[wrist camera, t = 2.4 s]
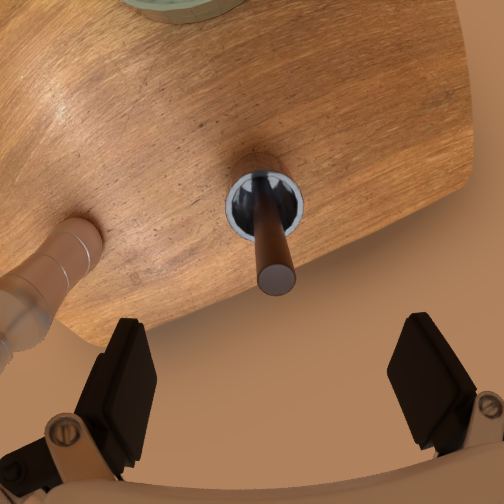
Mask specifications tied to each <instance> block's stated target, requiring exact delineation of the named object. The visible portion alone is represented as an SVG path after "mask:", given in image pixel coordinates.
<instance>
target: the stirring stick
mask: <svg viewBox="0 0 504 504" xmlns="http://www.w3.org/2000/svg"><path fill="white" fill-rule="evenodd" d="M251 190H252V207H253V223H254V239H255V255H256V272H257V284H258V286H259V288H260V289H261V290H262V291H263V292H264V293H266V294H268V295H271V296H281V295H284V294H286V293H288V292H289V291H290V290H291V289H292V288H293V287H294V285H295V282H296V274H295V270H294V266H293V263H292V259H291V255H290V251H289V248H288V244H287V240H286V237H285V233H284V230H283V226H282V222H281V219H280V215H279V212H278V208H277V205H276V201H275V198H274V194H273V191H272V187H271V184H270V182H269V181H268V180H267V179H266V178H257V179H255V180H254V181H253V183H252V185H251Z"/></svg>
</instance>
